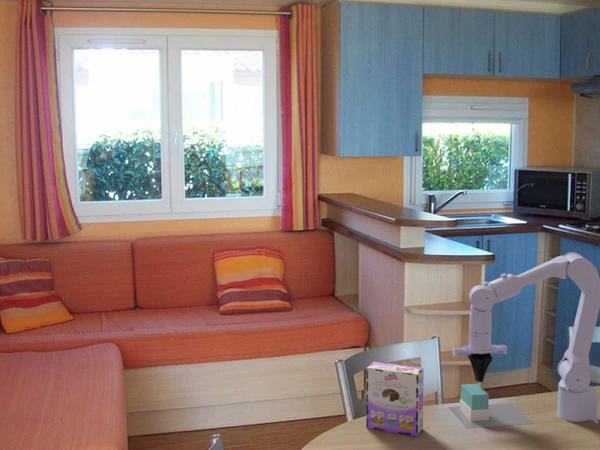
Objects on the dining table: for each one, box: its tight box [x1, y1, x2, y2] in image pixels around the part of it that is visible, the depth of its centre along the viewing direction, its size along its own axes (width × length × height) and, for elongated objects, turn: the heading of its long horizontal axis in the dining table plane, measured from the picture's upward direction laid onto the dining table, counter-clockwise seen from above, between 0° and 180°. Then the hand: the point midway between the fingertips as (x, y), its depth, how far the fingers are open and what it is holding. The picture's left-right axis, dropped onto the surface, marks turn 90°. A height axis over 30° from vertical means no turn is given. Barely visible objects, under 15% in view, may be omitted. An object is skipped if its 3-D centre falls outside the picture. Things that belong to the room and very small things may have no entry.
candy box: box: [365, 361, 425, 437], centre depth 189 cm, size 14×6×16 cm, turn 65°
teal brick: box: [460, 383, 490, 410], centre depth 196 cm, size 4×8×4 cm, turn 8°
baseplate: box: [447, 398, 534, 429], centre depth 196 cm, size 18×14×4 cm
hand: (479, 380), depth 197 cm, fingers closed
